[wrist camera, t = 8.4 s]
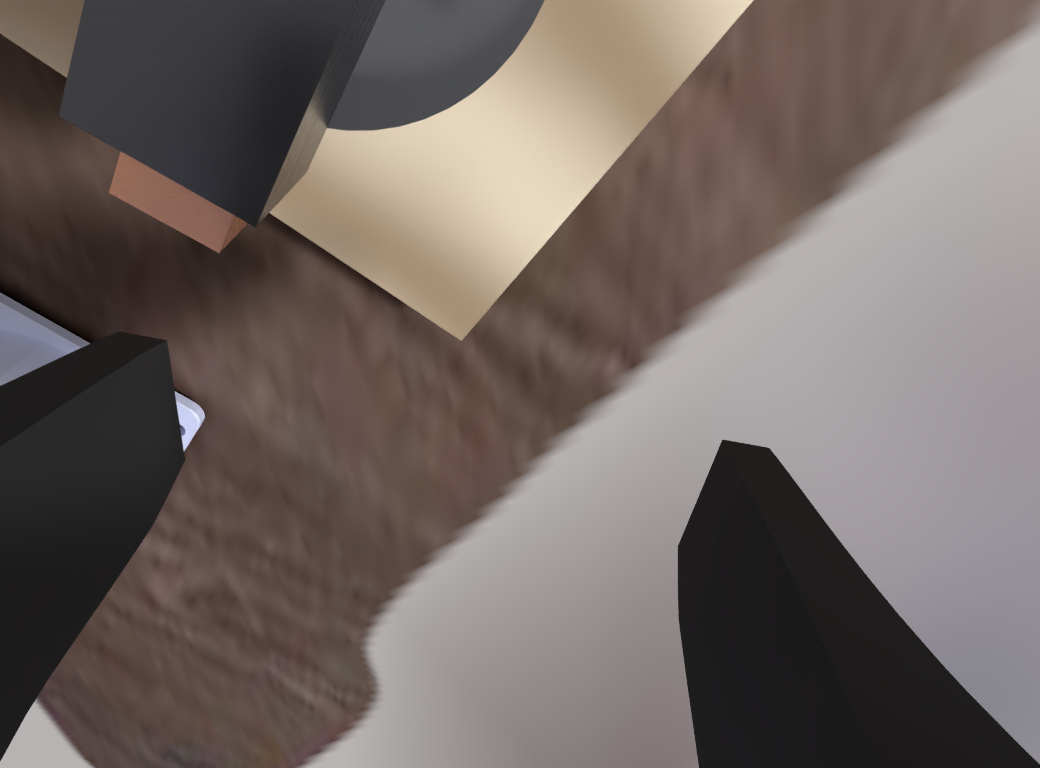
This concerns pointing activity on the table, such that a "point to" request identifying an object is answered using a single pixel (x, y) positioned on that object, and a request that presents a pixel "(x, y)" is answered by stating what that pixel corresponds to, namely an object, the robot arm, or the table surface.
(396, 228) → the cream base plate
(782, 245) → the table surface
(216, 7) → the rotary knob
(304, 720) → the table surface
